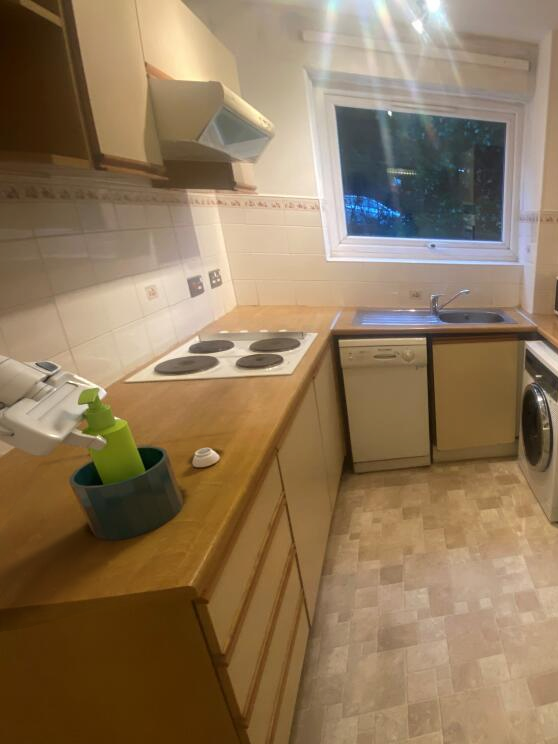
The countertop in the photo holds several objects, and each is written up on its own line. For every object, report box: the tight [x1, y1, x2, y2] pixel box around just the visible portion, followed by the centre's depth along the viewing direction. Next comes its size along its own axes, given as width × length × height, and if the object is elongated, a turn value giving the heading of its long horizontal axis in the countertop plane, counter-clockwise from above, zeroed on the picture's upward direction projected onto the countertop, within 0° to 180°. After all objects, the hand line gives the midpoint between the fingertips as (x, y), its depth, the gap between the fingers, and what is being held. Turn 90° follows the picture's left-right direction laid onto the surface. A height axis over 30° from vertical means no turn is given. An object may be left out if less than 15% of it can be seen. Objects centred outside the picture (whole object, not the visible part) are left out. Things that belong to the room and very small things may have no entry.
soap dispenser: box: [78, 387, 146, 485], centre depth 74 cm, size 6×7×20 cm
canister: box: [68, 445, 184, 542], centre depth 79 cm, size 13×13×11 cm
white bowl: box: [191, 447, 220, 468], centre depth 97 cm, size 5×3×5 cm
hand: (113, 435), depth 75 cm, fingers closed on soap dispenser, 6 cm apart
